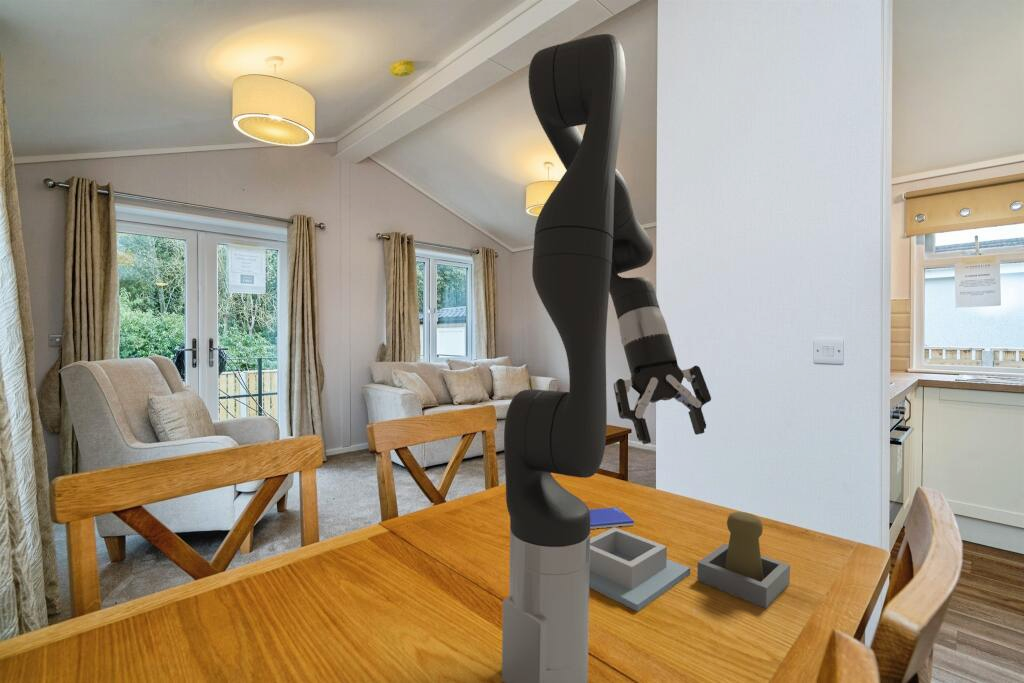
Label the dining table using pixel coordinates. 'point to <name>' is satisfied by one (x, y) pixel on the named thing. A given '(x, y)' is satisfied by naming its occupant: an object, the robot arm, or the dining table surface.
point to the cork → (744, 545)
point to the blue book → (609, 518)
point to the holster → (744, 578)
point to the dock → (631, 568)
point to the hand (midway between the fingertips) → (673, 438)
